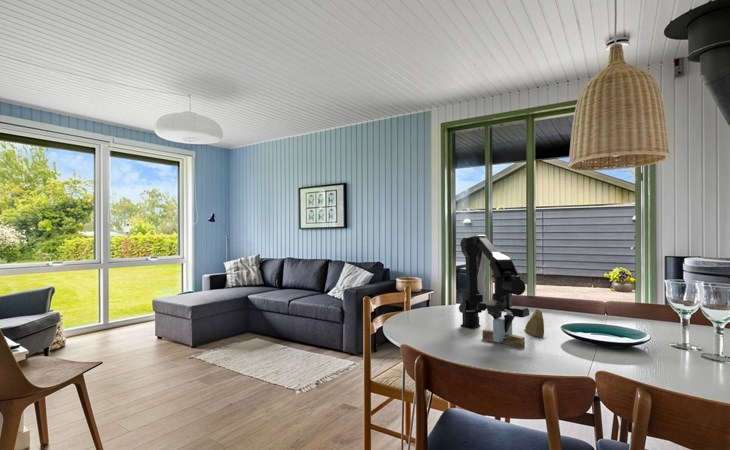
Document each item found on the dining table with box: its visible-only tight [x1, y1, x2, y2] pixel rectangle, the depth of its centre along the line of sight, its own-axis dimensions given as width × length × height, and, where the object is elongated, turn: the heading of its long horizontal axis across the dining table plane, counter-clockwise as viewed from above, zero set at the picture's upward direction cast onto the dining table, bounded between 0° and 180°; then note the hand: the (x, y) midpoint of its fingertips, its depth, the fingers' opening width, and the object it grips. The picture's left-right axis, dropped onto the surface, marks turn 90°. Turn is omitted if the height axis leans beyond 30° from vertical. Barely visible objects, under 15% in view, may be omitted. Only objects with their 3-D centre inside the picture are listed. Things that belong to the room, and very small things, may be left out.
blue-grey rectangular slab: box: [492, 316, 513, 343], centre depth 149 cm, size 10×2×8 cm, turn 132°
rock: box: [524, 309, 545, 338], centre depth 160 cm, size 11×9×10 cm
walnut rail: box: [481, 328, 526, 349], centre depth 149 cm, size 16×2×4 cm, turn 42°
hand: (502, 331), depth 149 cm, fingers closed on blue-grey rectangular slab, 2 cm apart
